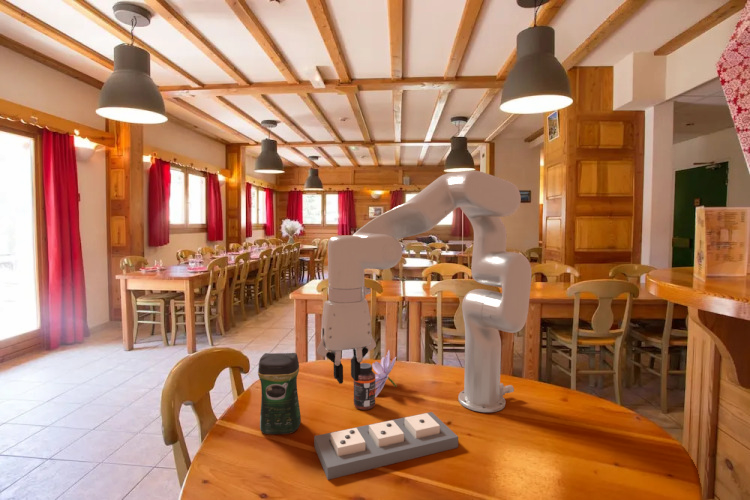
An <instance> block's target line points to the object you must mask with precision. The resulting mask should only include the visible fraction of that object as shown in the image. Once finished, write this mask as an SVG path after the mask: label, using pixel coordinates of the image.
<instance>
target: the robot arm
mask: <svg viewBox="0 0 750 500" xmlns="http://www.w3.org/2000/svg"><path fill="white" fill-rule="evenodd" d="M521 199H522V197H521V193H520V190H519V187H517V186H516V185H515V183H513V182H511V181H509V180H507V179H503V178H501V177H498V176H495V175H492V174H489V173H486V172H484V171H479V170H473V169H472V170H464V171H463V170H462V171H456V172H455V171H454V172H447V173H444V174H442V175H440V176H439V177H437V178H436V179H435V180H434V181H432V182H431V183H429V184H428V185H427V186H426V187H424V188H423V189H421V191H420V192H418V193H417V194H416V195H414V196H413V197H412V198H411V199H409V200H407V201H406V202H404V203H402V204H400V205H397V206H395V207H393V208H392V209H389V210H387V211H386V212H384V213H382V214H380V215H378V216H376V217H374V218H373V219H371V220H369V221H368V222H367V223H366V224H364V225H363V226H362V227H360V228H359V229H358V230H357V231H355V232H354V233H353V234H352V235H351V234H349V235H334V236H332V237H330V238H329V239H328V242H327V277H328V278H327V281H328V283H327V285H328V286H327V287H328V288H327V289H328V290H327V291H328V297H327V298H328V299H327V300H325V301H324V302H323V309H322V316H321V317H322V318H321V330H320V342H319V344H318V346H317V348H316V353H317V355H319V356H321V357H324V358H326V359H328V360H330V361H331V363H333V378H334V379H335V380H336V381H337V383H339V385H340V384H343V383H344V366H343V364H342V361H341V358H342V351H348V350H352V358H351V359H350V376H351V378H352V379H353V381H354V380H355V381H358V380H359V375H360V364H361V363H363V362H362V361H363V359H364V357H365V356H366V355H368V353H369V352H371V351H372V350H373V349H375V348H376V347H377V343H376V341H375V339H374V337H373V335H372V323H371V321H372V320H371V314H370V307H369V304H368V303H369V302H368V300H367V299H366V295H371V293H372V292H371V291H372V290H371V288H370V287H366V285H365V270H366V269H368V270H369V269H371V270H372V269H373V270H388V269H389V270H390V269H391V268H393V267H395V266H397V265H398V263H400V261H401V259H402V256H403V247H402V244H401V242H400V241H399V240H400V239H403V238H407V237H412V236H417V235H420V234H424V233H427V232H429V231H430V230H433V229H434V227H435V226H437V225H438V224H439V223H440V222H441V221H443V219H445V218H447V217H448V215H450V214H451V213H452V212H453V211H454V210H456V209H458V208H460V210H461V211H462V213H463V214H464V215H465V216H466V217H467V219H468V220H469V222H470V224H471V227H472V229H473V243H472V244H473V245H472V255H471V278H472V279H473V280H474V281H475V282H476V283H478V284H481V285H485V286H491V287H495V288H501V292H499V291H494V290H489V289H486V288H485V289H483V288H475V289H472V290H469V291H468V292H467V293H465V295H464V297H463V299H462V303H461V311H462V317H463V322H464V331H465V332H464V333H465V335H464V343H465V344H464V381H463V382H464V383H463V384H464V386H463V387H464V389H463V390H461V391H460V392H459V393H458V402H459V404H460V405H461V406H463V407H464V408H467V409H469V410H470V411H474V412H479V413H496V412H500V411H502V410H503V409H504V408H505V407H506V399H505V397H504V395H506V394H510V393H513V392H514V391H515V388H514V386H513V385H512V384H509V385H504V383H503V382H501V359H502V357H501V355H502V354H501V353H502V340H501V336H500V332H499V331H502V332H505V333H511V334H513V333H514V334H515V333H518V332H520V331H521V330H522V329H523V328H524V327H525V325H526V322H527V319H528V315H529V306H530V298H531V297H530V295H531V286H532V267H531V263H530V261H529V259H528V258H527V257H526V256H525V255H524V254H522V253H519V252H514V251H513V252H512V251H507V230H506V229H507V228H506V226H505V224H504V221H503V220H502V217H509V216H511V215H512V216H513V215H514V214H515V213H516V212H517V210H518V209H519V208H520V206H521V201H522V200H521Z"/></svg>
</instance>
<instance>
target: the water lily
mask: <svg viewBox="0 0 750 500" xmlns="http://www.w3.org/2000/svg"><path fill="white" fill-rule="evenodd" d="M396 359H397V356H395V357H394V358H393V359H392V361H391V352H390V349H388V351H387V353H386V356H382V358H381V359H380V362H378V361H374V362H373V363H372V364H371V365H372V370H373V372H374V373H375V398H377V397H378V395H379V394H380V393H381V392H382V390H383V388H384V386H385V384H386V381H387V380H388V381H389V382H390V383H391V384H392V385H393V386H394V387H395V388H397V386H398V385H397V384H396V383H395V382H394V380H393V379H391V377H389V375H390V373H391V372H392V370H393V368H394V366H395V365H396V361H397V360H396Z"/></svg>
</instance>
